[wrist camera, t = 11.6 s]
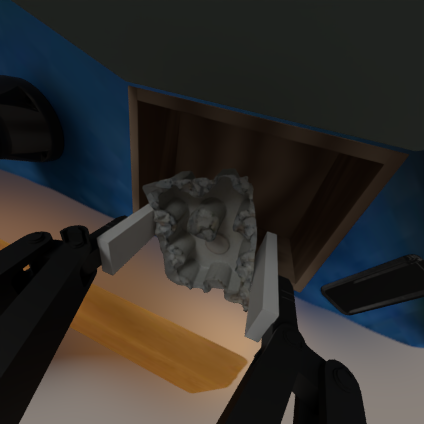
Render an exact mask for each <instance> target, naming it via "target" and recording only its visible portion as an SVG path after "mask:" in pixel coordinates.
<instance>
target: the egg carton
mask: <svg viewBox="0 0 424 424" xmlns="http://www.w3.org/2000/svg"><path fill="white" fill-rule="evenodd" d="M142 189H143V191H144V193H145V195H146V197H147V199H148V201H149V204H150V206H151V207H152V208H153V210H154V219H153V220H154V221H155V222H156V229H155V234H156V236H157V237H158V239H159V242H160V248H161V251H162V253H163V256H164V265H165V273H166V275H167V277H168V278H169V279H170V280H171V281H173V282H174V283H176V284H178V285H184V286H187V287H188V288H189V289H192V288H201V289H203V291H204V293H205V292H209V291H210V290H211V288H219V289H224V297H225V299H226V300H228V301H230V302H233V303H239V304H241V305H243V308H244V311H245V312H247V311H248V307H249V300H250V291H251V283H252V278H253V271H254V258H255V250H256V243H257V226H256V217H255V208H254V203H253V190H254V189H253V186H252V184H251V183H249V182H248V176H245V177H240V176H239V174H238V172H237V171H236V169H222V171H221V172H220V173H219V174H218V175H217V176H216V177H215V178H214V180H209V179H207V178H203V177H202V178H196V177H195V176H194V174H193V172H192V171H182V172H180V173H179V174H176V175H175V176H173V177H171V178H169V179H164V180H161V181H157V182H153V183H150V184H147V185H143V188H142Z"/></svg>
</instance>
